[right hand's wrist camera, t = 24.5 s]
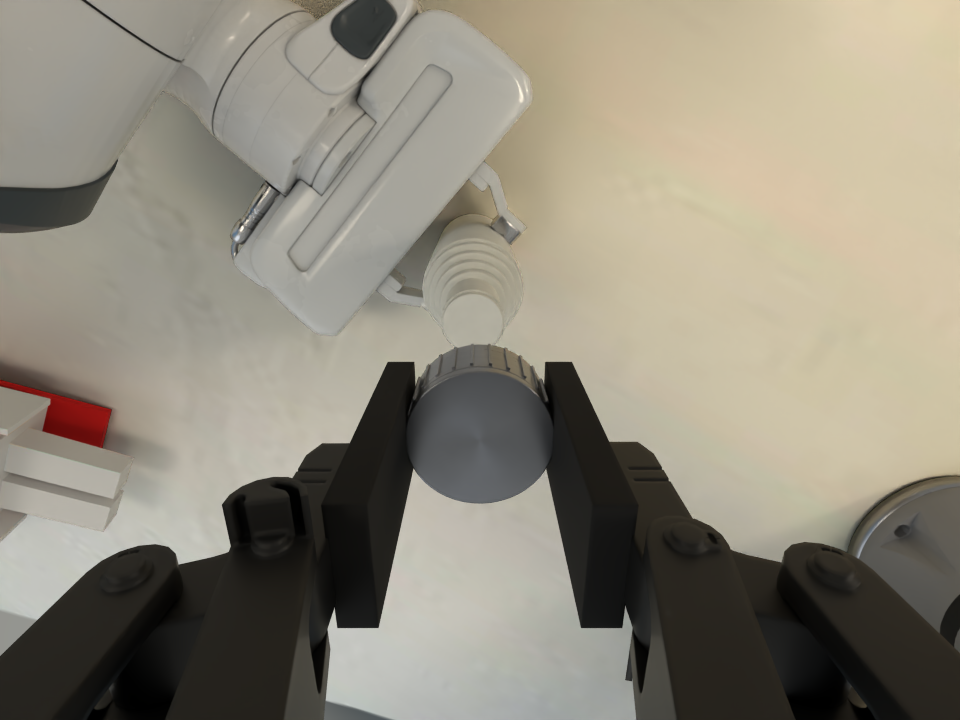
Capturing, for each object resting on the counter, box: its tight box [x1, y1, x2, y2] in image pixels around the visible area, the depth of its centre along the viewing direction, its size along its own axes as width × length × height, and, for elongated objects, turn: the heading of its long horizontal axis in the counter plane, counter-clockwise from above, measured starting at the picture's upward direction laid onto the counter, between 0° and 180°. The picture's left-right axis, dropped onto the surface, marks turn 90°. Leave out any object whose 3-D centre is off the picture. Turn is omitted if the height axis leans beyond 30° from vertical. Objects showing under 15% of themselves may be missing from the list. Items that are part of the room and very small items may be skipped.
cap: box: [406, 344, 554, 503], centre depth 14 cm, size 4×4×2 cm
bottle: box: [422, 214, 524, 348], centre depth 30 cm, size 5×5×19 cm
